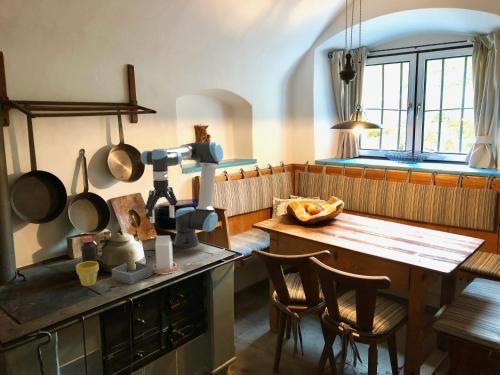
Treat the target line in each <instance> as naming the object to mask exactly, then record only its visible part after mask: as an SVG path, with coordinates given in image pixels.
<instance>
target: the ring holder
mask: <svg viewBox="0 0 500 375" xmlns="http://www.w3.org/2000/svg"><path fill="white" fill-rule="evenodd" d="M173 266H174V267H173V268H171V269H166V270H158V269H156V268H157V265H156V263H155V264H153V266H152V273H153V274H154V273H158V274H162V273H169V272H173V271H175V270H176V269H177V270H178V264H177V263H176V262H174V261H173ZM158 274H157V275H158Z"/></svg>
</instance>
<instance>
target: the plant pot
mask: <svg viewBox="0 0 500 375" xmlns="http://www.w3.org/2000/svg"><path fill="white" fill-rule="evenodd" d="M99 270H100V267H99V262H95V261H87V262H79V263H77V264H76V265H75V271H76V274H77V275H78V278H79V281H80V285H82V286H84V287H90V286H94V285H95V284H96V283H97V279H98V278H97V277H98V272H97V271H99Z"/></svg>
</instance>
